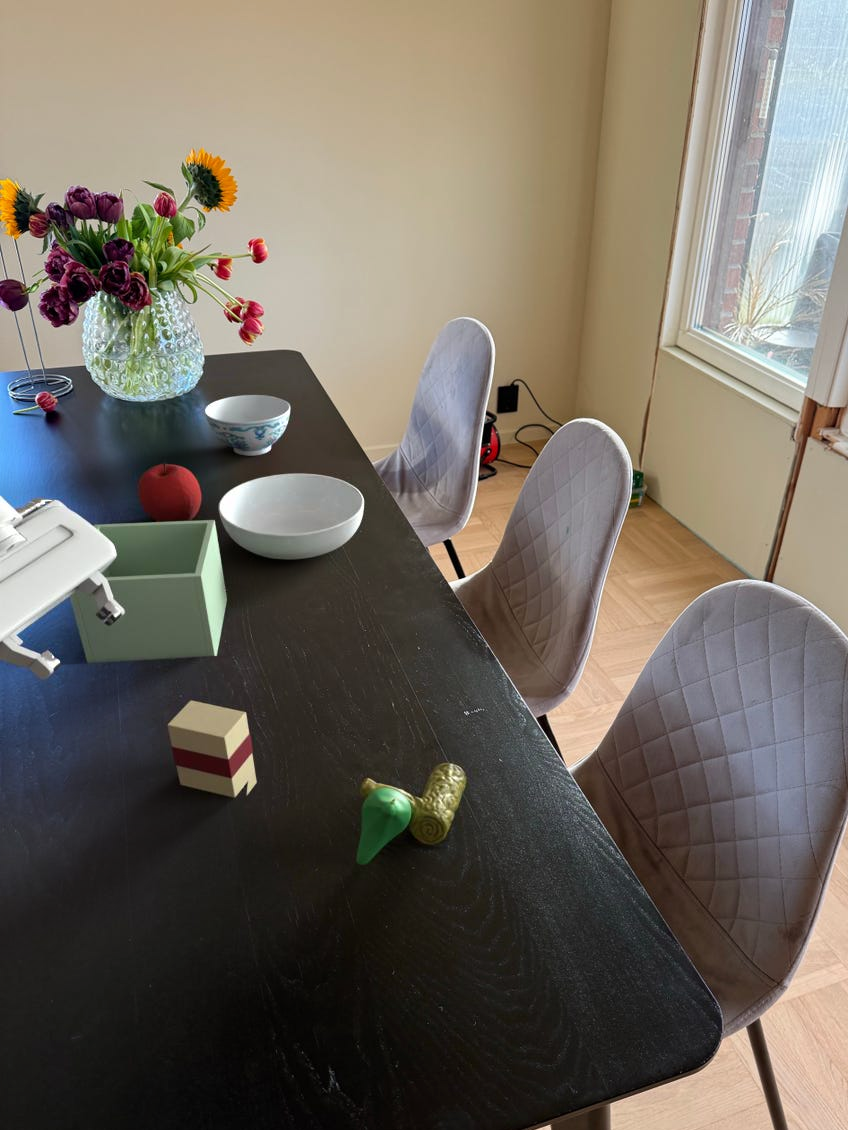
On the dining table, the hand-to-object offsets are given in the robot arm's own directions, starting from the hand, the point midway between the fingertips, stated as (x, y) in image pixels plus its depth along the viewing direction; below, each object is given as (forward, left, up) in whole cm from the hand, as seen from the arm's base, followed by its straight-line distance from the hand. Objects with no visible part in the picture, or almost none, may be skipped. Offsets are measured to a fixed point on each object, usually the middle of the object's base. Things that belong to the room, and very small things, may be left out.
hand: (86, 645), depth 83 cm
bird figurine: (+30, -15, -15) cm, 36 cm away
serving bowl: (+17, +48, -15) cm, 53 cm away
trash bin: (+1, +25, -15) cm, 29 cm away
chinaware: (+8, +87, -15) cm, 89 cm away
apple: (-2, +58, -15) cm, 60 cm away
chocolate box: (+11, -5, -15) cm, 19 cm away
